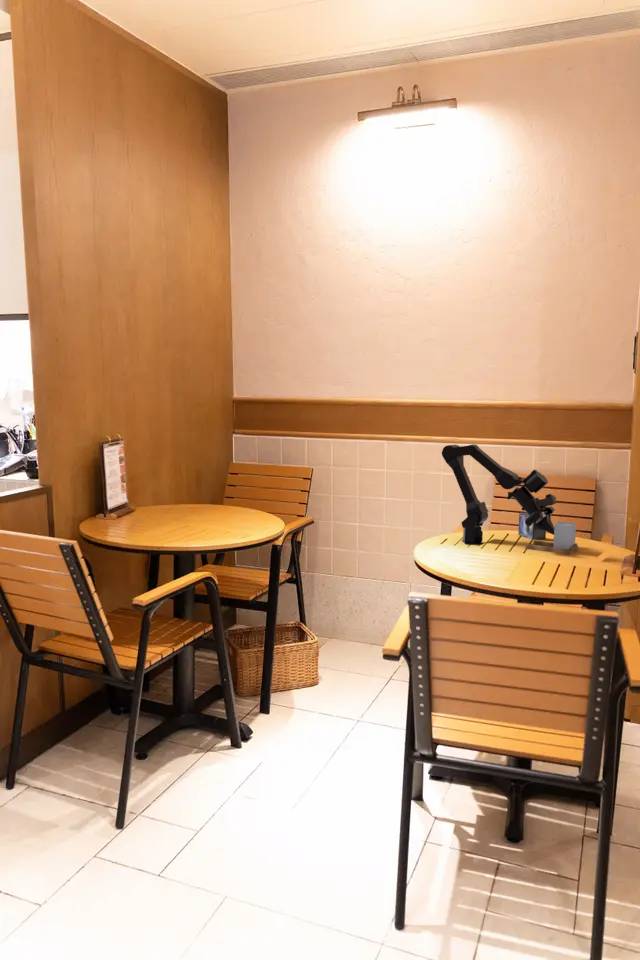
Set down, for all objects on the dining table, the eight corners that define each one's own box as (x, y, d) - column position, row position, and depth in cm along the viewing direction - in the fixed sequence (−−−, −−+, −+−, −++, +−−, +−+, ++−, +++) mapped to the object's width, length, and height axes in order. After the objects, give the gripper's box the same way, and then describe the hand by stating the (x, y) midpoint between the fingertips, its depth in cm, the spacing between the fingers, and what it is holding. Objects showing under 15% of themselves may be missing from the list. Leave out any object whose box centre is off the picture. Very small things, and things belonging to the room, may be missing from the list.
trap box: (525, 552, 281) (525, 541, 281) (534, 548, 290) (534, 537, 289) (569, 558, 272) (570, 547, 272) (577, 553, 281) (578, 543, 281)
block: (553, 551, 278) (554, 523, 276) (557, 548, 283) (559, 521, 281) (570, 553, 274) (571, 525, 273) (574, 550, 279) (576, 523, 278)
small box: (516, 538, 308) (518, 512, 307) (531, 537, 310) (532, 511, 309) (531, 543, 298) (533, 516, 297) (546, 543, 300) (547, 516, 299)
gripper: (535, 489, 273) (565, 524, 268) (551, 484, 288) (579, 517, 284) (512, 509, 278) (541, 543, 273) (529, 503, 293) (556, 535, 289)
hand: (555, 534), depth 280 cm, fingers closed, pressing on block
